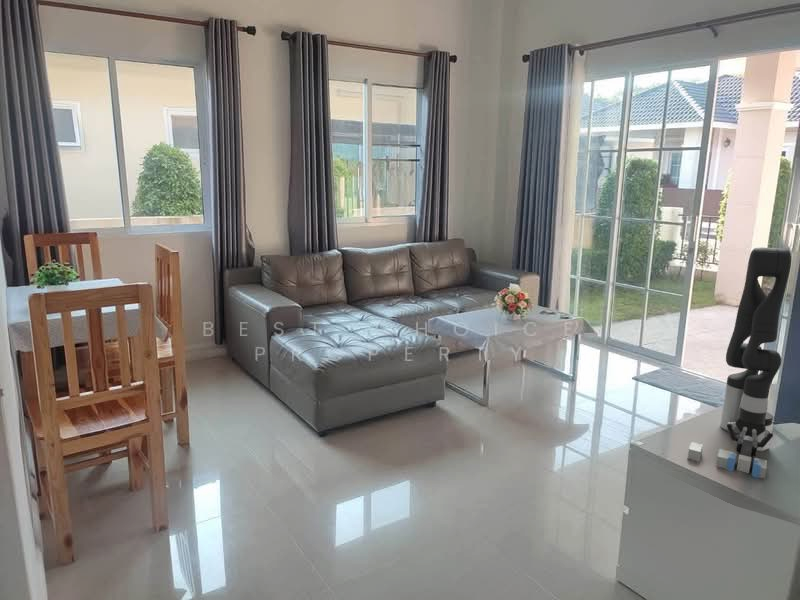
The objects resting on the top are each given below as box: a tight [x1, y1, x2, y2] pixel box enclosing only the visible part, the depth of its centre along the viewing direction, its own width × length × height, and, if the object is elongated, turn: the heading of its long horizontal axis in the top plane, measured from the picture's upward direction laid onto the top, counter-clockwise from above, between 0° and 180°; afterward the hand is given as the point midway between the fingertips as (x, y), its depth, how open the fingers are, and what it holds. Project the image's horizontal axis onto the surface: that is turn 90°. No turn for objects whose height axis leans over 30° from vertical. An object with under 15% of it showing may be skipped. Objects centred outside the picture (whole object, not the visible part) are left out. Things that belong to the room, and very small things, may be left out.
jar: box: [742, 412, 774, 452], centre depth 200 cm, size 9×8×12 cm
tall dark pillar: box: [736, 439, 753, 474], centre depth 189 cm, size 15×3×4 cm, turn 146°
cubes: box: [687, 441, 768, 479], centre depth 188 cm, size 7×22×4 cm, turn 56°
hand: (745, 454), depth 191 cm, fingers closed on tall dark pillar, 3 cm apart
